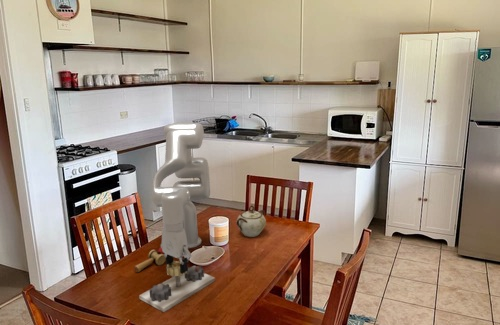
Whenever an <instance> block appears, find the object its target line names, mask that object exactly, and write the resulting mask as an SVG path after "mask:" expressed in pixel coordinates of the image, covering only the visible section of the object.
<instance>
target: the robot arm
mask: <svg viewBox="0 0 500 325" xmlns="http://www.w3.org/2000/svg"><path fill="white" fill-rule="evenodd" d="M163 135H164V137H165V138H166V139H165V154H164V155H165V157H164V158H165V159H164V160H165V161H164V163H163V164H162V165H161V166H160V167H159V168H158V170H157V171H156V172H155V174H154V177H153V179H152V184H151V185H152V186H151V202H152V204H153V205H154V206H155V207H158V208H161V214H162V224H163V226H162V229H161V230H162V231H161V243H160V248H162V251H163V252H164V256H165V257H166V260H165V265H166V267H165V268H167V264H168V263H172V261H174V259H175V258H176V259H178V260H179V261H180V262H181V264H180V272H181V274H183V273H185V272H186V271H188V267H189V266H188V262H189V261H190V259H191V258H192V257H193V255H192V253H191V251H189V249H193V248H196V247H198V246H200V245H201V244H202V239H201V238H200V236H199V235H198V217H197V216H198V215H197V208H196V206H195V204H194V202H192V201H205V200H208V199H209V198H210V197H211V182H210V180H211V179H210V169H209V168H210V166H209V162H208V160H207V159H206V158H205V157H193V156H192V155H193V154H192V150H194V149H195V150H197V149H198V150H199V148H201V147H202V145H203V139H204V137H205V131H204V126H203V125H202V123H200V122H177V123H168V124H166V125H164V127H163ZM173 174H174V176H175V177H177V178H178V179H189V180H179V181H176V182H174V184H173V186H161V184H162V183H163V182H164V180H165V179H166V178H167V177H169V176H171V175H173ZM191 179H193V180H191ZM194 179H195V180H194ZM183 257H184V258H183Z"/></svg>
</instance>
